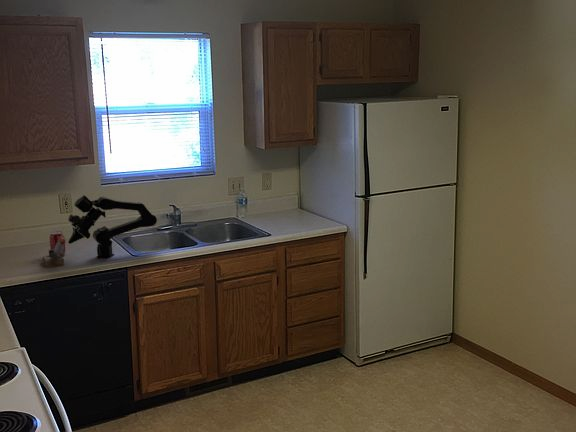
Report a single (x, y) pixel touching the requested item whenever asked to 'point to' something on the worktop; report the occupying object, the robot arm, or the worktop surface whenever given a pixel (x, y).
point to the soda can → (54, 240)
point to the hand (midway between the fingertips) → (69, 243)
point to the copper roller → (59, 245)
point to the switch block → (53, 259)
